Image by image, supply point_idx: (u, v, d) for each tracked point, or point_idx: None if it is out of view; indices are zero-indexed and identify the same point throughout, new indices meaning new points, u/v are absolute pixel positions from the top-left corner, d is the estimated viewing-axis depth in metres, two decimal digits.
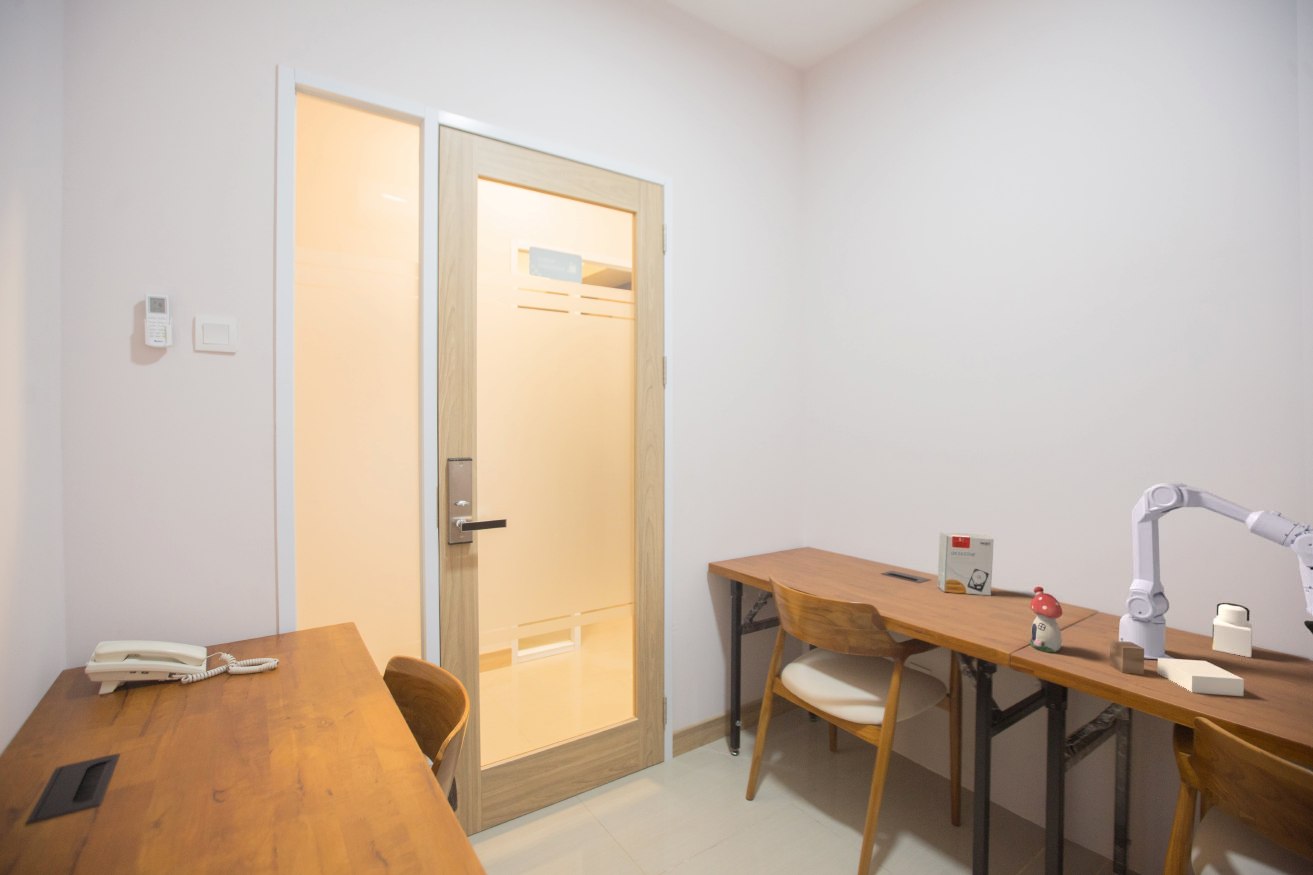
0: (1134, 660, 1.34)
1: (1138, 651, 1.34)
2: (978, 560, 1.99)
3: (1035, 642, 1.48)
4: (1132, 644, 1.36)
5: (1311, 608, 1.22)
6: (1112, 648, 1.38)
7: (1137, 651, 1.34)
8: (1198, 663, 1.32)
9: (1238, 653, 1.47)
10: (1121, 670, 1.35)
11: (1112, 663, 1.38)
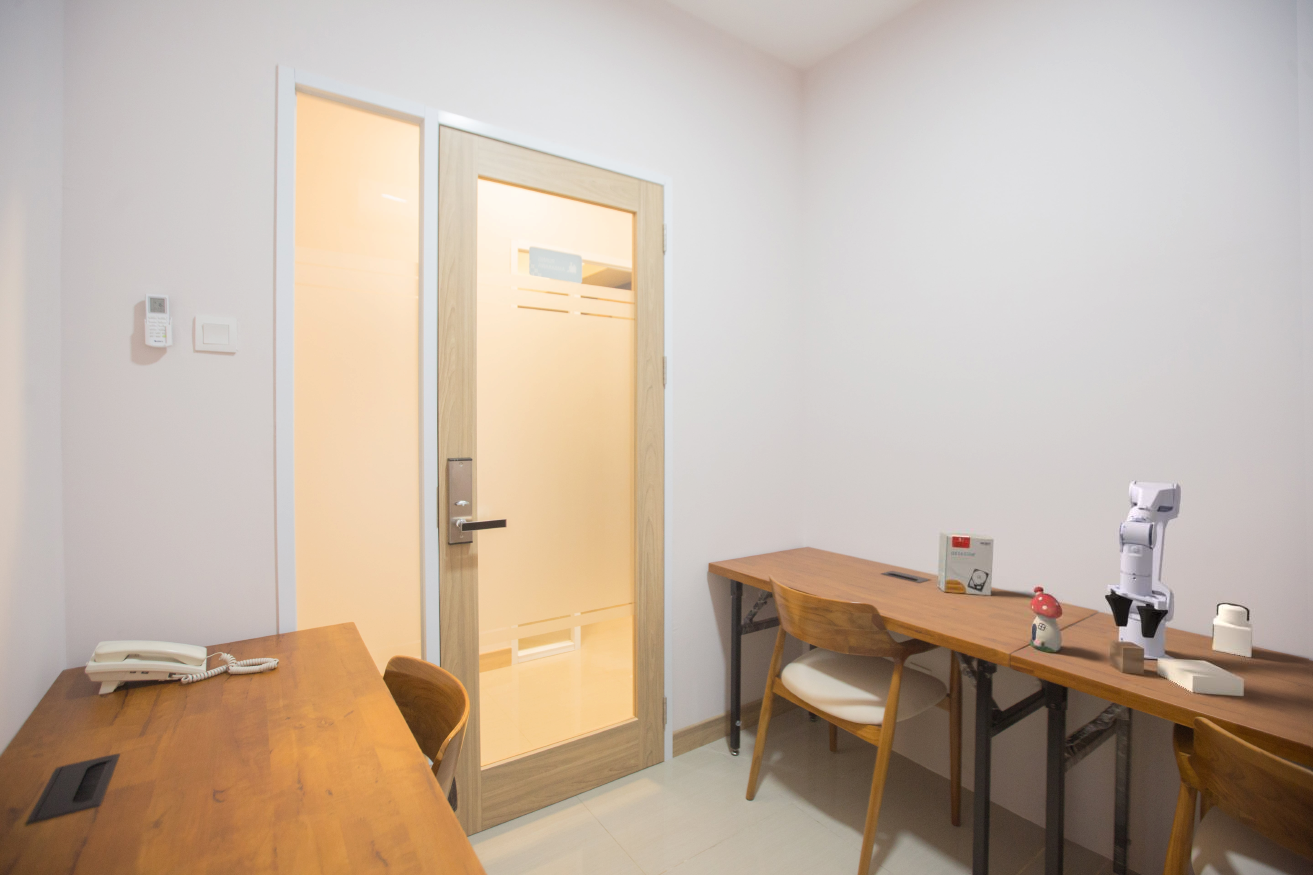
0: (1134, 660, 1.34)
1: (1138, 651, 1.34)
2: (978, 560, 1.99)
3: (1035, 642, 1.48)
4: (1132, 644, 1.36)
5: None
6: (1112, 648, 1.38)
7: (1137, 651, 1.34)
8: (1198, 663, 1.32)
9: (1238, 653, 1.47)
10: (1121, 670, 1.35)
11: (1112, 663, 1.38)
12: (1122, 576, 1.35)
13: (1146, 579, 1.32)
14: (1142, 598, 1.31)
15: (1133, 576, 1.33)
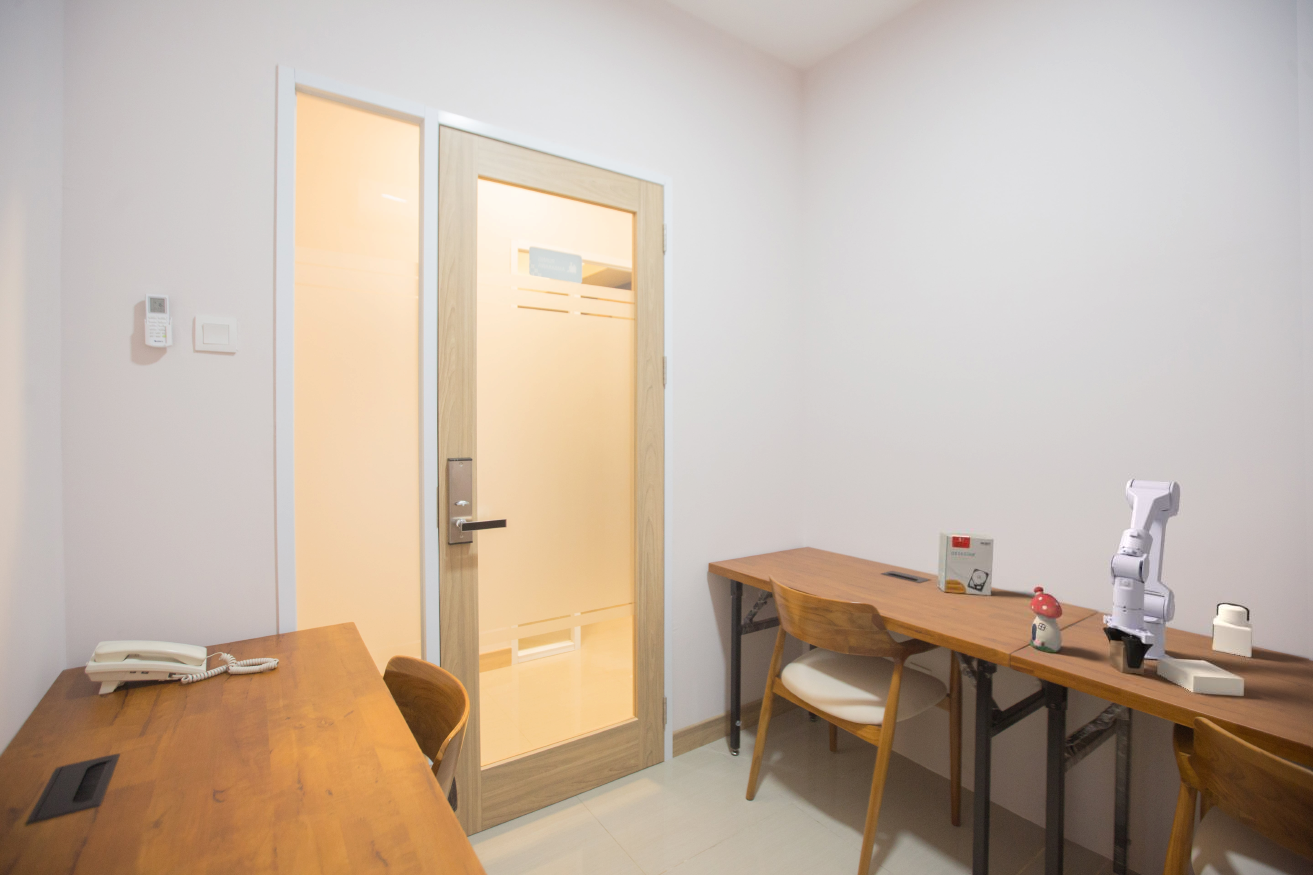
0: None
1: None
2: (978, 560, 1.99)
3: (1035, 642, 1.48)
4: None
5: None
6: (1112, 648, 1.38)
7: None
8: (1198, 662, 1.32)
9: (1238, 653, 1.47)
10: (1121, 670, 1.35)
11: (1112, 663, 1.38)
12: (1113, 608, 1.37)
13: (1136, 612, 1.33)
14: (1131, 631, 1.32)
15: (1123, 609, 1.35)
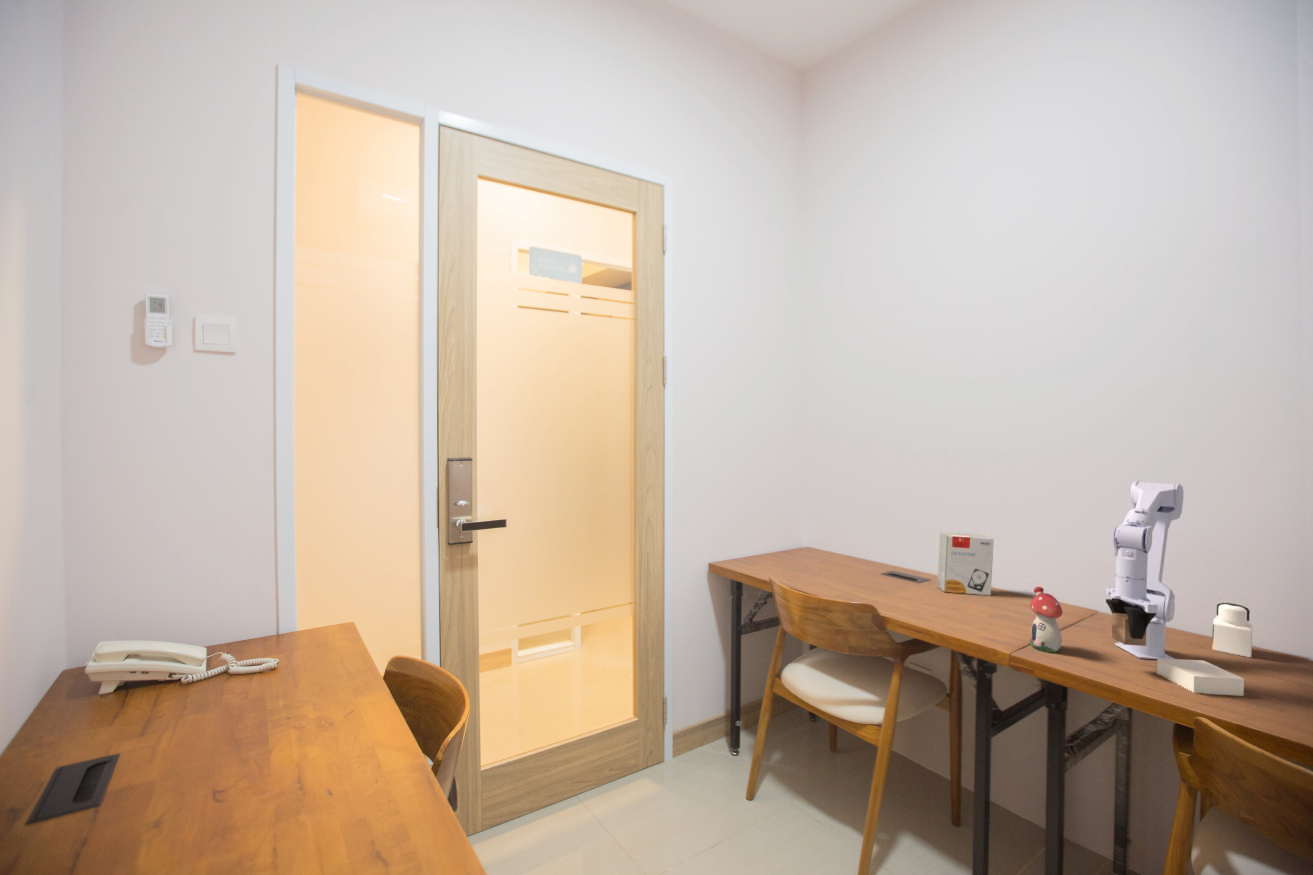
0: None
1: None
2: (978, 560, 1.99)
3: (1035, 642, 1.48)
4: None
5: None
6: (1114, 620, 1.38)
7: None
8: (1197, 662, 1.32)
9: (1238, 653, 1.47)
10: (1123, 642, 1.34)
11: (1114, 635, 1.38)
12: (1116, 579, 1.37)
13: (1139, 582, 1.33)
14: (1134, 601, 1.32)
15: (1126, 579, 1.34)
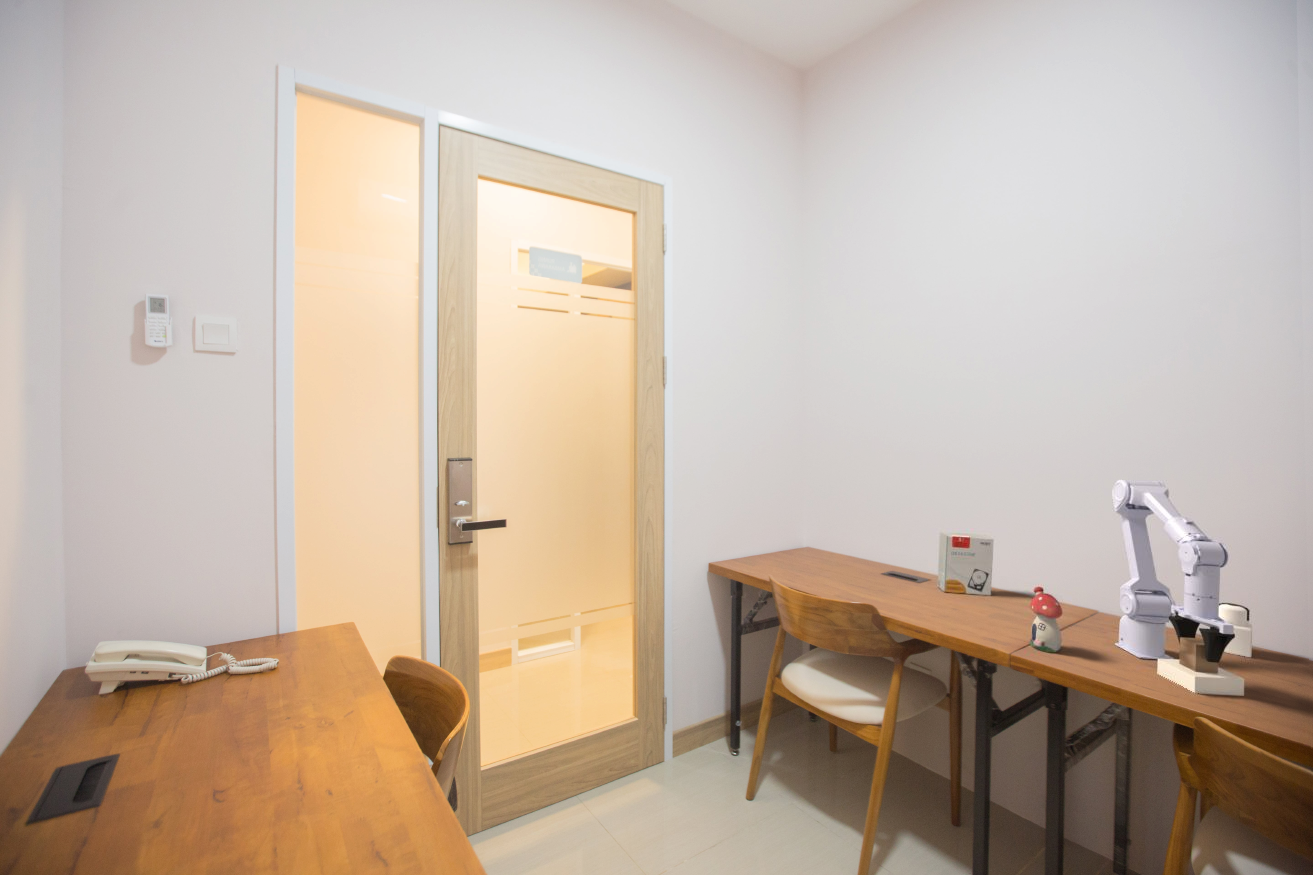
0: None
1: None
2: (978, 560, 1.99)
3: (1035, 642, 1.48)
4: None
5: None
6: (1182, 645, 1.31)
7: None
8: None
9: (1238, 653, 1.47)
10: (1194, 668, 1.27)
11: (1182, 661, 1.30)
12: (1185, 597, 1.30)
13: (1212, 601, 1.26)
14: (1206, 621, 1.25)
15: (1197, 598, 1.27)
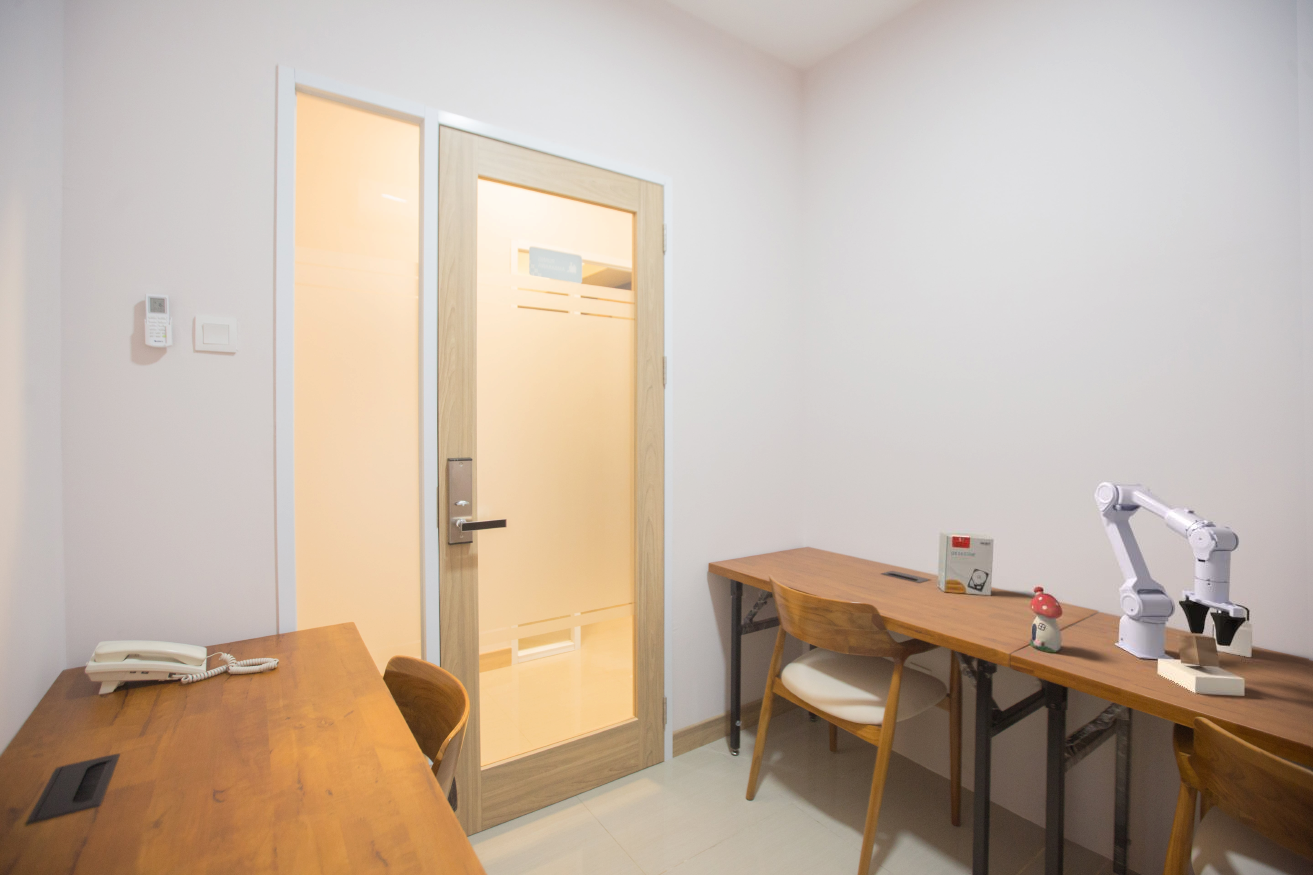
0: (1208, 650, 1.27)
1: (1210, 641, 1.28)
2: (978, 560, 1.99)
3: (1035, 642, 1.48)
4: None
5: None
6: (1181, 642, 1.31)
7: (1209, 640, 1.28)
8: None
9: (1238, 653, 1.47)
10: (1197, 662, 1.27)
11: (1184, 659, 1.30)
12: (1196, 582, 1.32)
13: (1222, 585, 1.28)
14: (1217, 605, 1.27)
15: (1207, 582, 1.30)
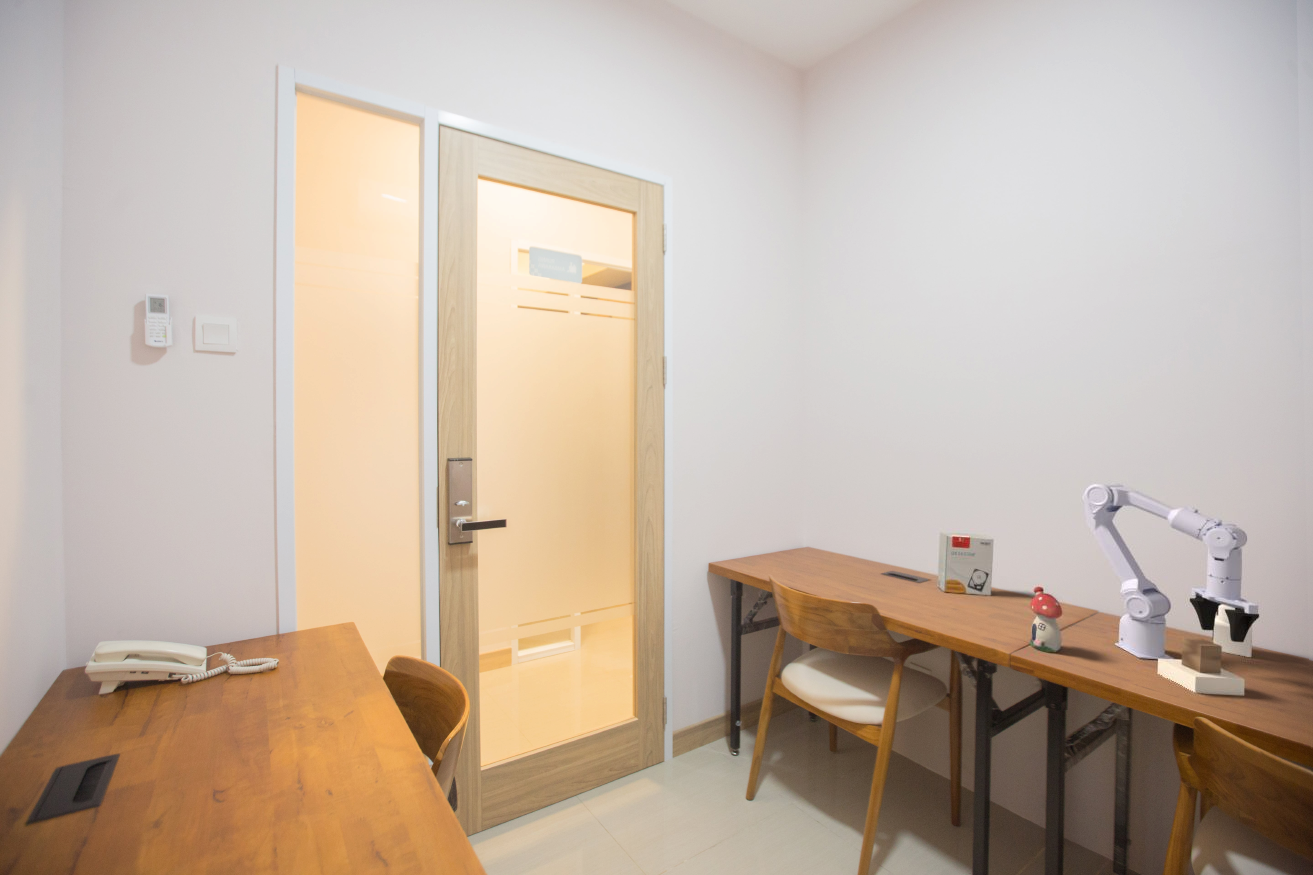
0: (1211, 658, 1.26)
1: (1215, 649, 1.26)
2: (978, 560, 1.99)
3: (1035, 642, 1.48)
4: (1206, 641, 1.29)
5: None
6: (1185, 646, 1.30)
7: (1215, 649, 1.26)
8: None
9: (1238, 653, 1.47)
10: (1198, 669, 1.27)
11: (1185, 662, 1.30)
12: (1209, 579, 1.34)
13: (1235, 582, 1.31)
14: (1231, 602, 1.30)
15: (1221, 580, 1.32)
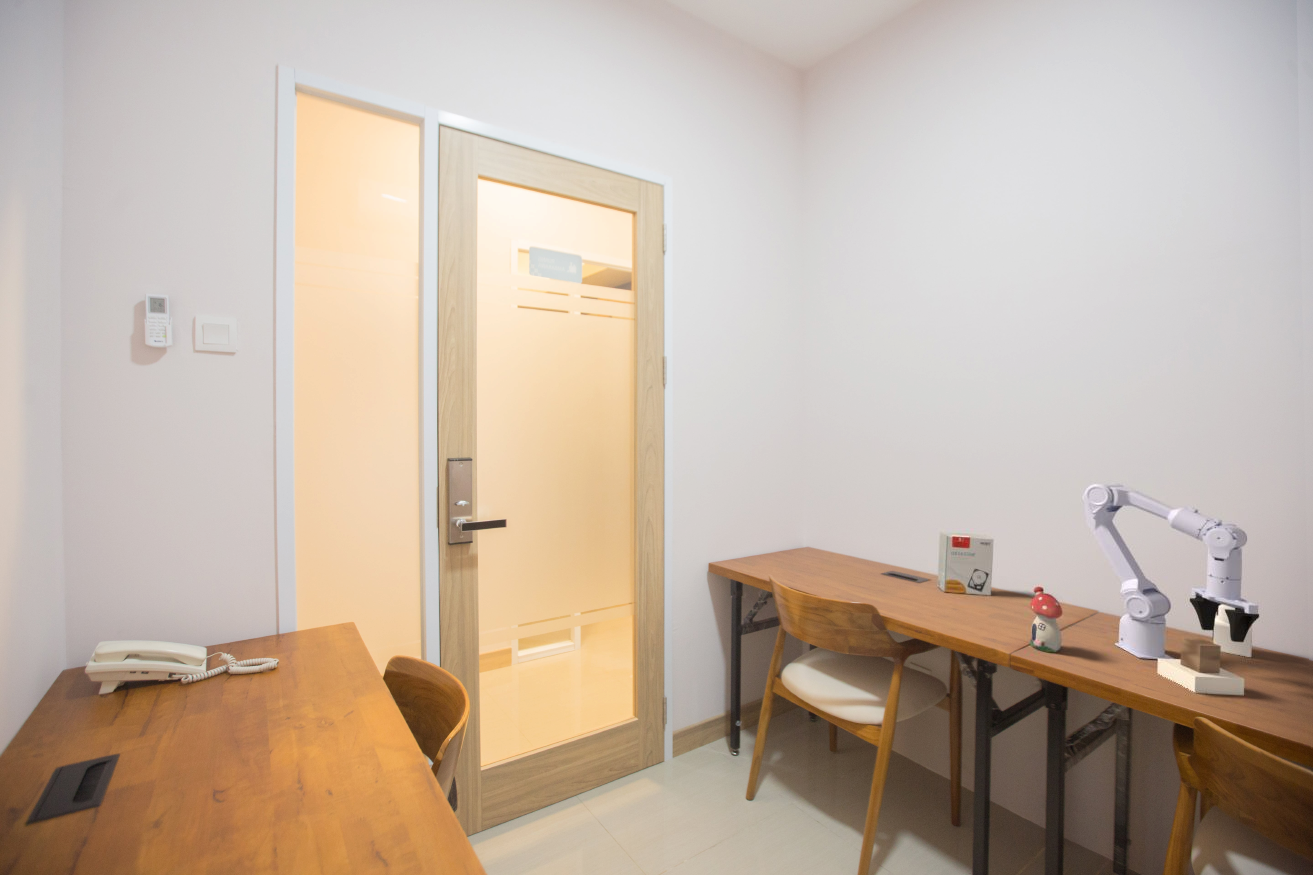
0: (1211, 658, 1.27)
1: (1215, 649, 1.26)
2: (978, 560, 1.99)
3: (1035, 642, 1.48)
4: (1205, 641, 1.29)
5: None
6: (1184, 646, 1.30)
7: (1214, 649, 1.26)
8: None
9: (1238, 653, 1.47)
10: (1197, 669, 1.27)
11: (1184, 662, 1.30)
12: (1209, 579, 1.34)
13: (1235, 582, 1.31)
14: (1231, 602, 1.30)
15: (1221, 580, 1.32)
